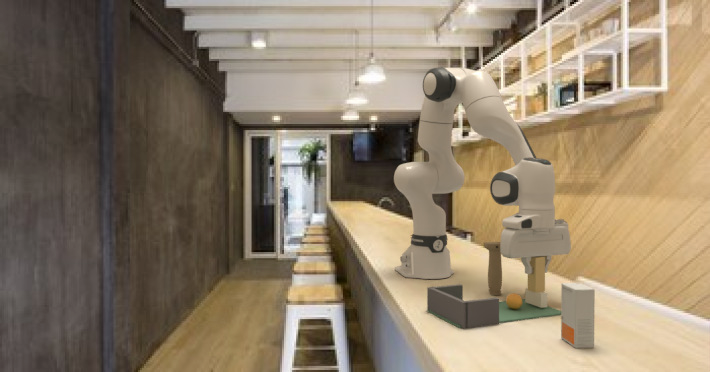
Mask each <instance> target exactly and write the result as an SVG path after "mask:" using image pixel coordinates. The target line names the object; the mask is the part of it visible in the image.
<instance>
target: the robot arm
mask: <svg viewBox="0 0 710 372" xmlns="http://www.w3.org/2000/svg"><path fill="white" fill-rule="evenodd" d="M422 90H423V94H424V97H423V101H422V104H421V105H422V106H421V109H420V115H419V124H418V133H417V143H418V145H419V146H420V148H422V150H424V151H426V152H427V154H428V158H429V159H428V161H411V162H406V163H405V162H404V163H402V164H399V165H398V166H397V167H396V169H395V171H394V175H393V183H394V185H395V188H396V189H397V190H398V191H399V193H401V194H402V195H403V196H404V197H405V198H406V200H407V201H408V202H409V205H410V209H411V212H412V224H413V225H412V227H413V228H412V229H413V231H412V232H413V233H412V234H410V236H411V237H410V245H409V246H408V247H407V249H405V251H404V252H403V253H402V254H401V256H400V258H399V259H400V263H401V265H398V266H397V265H396V266H394V270H395V271H396V272H397V273H398V274H400V275H402V276H403V277H404V278H415V279H422V280H423V279H424V280H425V279H426V280H429V279H430V280H439V279H446V278H449V277H451V276H452V275H453V274H454V273H455V272H454V270H453V269H452V266H451V265H452V264H451V263H452V261H451V253H450V252H451V251H450V249H449V248H448V247H447V245H448V235H447V224H446V223H447V217H446V216H447V213H446V211H445V209H443V208H442V206H440V205H438V204H436V203H435V201H434V198H433V195H434V194H435V195H436V194H437V195H438V194H439V195H440V194H441V195H442V194H451V193H454V192H457V191H460V190H461V188H462V187H463V185H464V183H465V177H466V176H465V172H464V169H463V168H462V167H461V165H459V164H458V162H457V161H456V159H455V157H454V154H453V149H452V134H453V126H454V124H453V123H454V116H455V115H454V114H455V109H456V108H457V106H458V105H461V104H462V105H463V109H464V112H465V116H466V119H467V121H468V124H469V126H470V127H471V129H472V131H473V132H475V134H478V135H479V136H481V137H483V138H486V139H489V140H492V141H494V142H496V143H497V144H499V145H501V146H502V147H504V148H505V149H506V150H507V151H508V153H509V154H510V157H511V159H512V161H513V163H514V166H512V167H510V168H509V169H505V170H503V171H499V172H496V173H495V174H494V176H493V177H492V179H491V181H490V183H489V184H490V185H489V187H490V188H489V191H490V192H489V193H490V194H491V198H492V200H493V201H494V202H496V203H497V204H498V205H501V206H505V207H508V206H509V207H510V206H511V207H512V206H516V207H517V206H518V212H516V213H514V214H512V215H510V216H507V217H505V218H503V219H502V221H501V222H502V223H501V225H502V227H503V230H502V231H501V234H500V242H501V243H500V251H501V256H502V257H503V258H506V259H519V258H520V261H521V263H522V265H523V267H524V273H525V274H526V275H528V274H534V267H531V265H530V263H529V261H531V257H536V256H543V257H545V274H547V273H548V269H549V268H548V267H549V265H550V263H551V261H552V256H559V255H560V256H561V255H562V256H563V255H569V253H570V252H571V251H572V247H571V245H572V244H571V235H570V231H569V223H568V222H567V221H566V220H565V219H563V218H559V219H557V218H556V207H555V204H554V196H555V194H556V178H555V177H556V176H555V169H554V166H553V163H552V162H551V161H550V160H548V159H545V158H540V157H539V158H537V156H536V153H535V152H534V150H533V149H532V148H533V147H532V146H531V144H530V142H529V141H528V139H527V137H526V135H525V132H524V131H523V129H522V128H521V127H520V125H519V124H518V122H516V121H515V119H514V118H513V117H512V116H511V114H510V112H509V110H508V108H507V107H506V104H505V102H504V100H503V97H502V95H501V92H500V90H499V88H498V85H497V84H496V82H495V81H494V79H493V76H491V74H490V73H489V72H487V71H485V70H477V69H471V68H465V67H460V66H459V67H443V66H439V67H438V66H437V67H433V68H430V69H429V70H428V71H427V72H426V73H425V75H424V77H423V81H422Z"/></svg>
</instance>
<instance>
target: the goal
mask: <svg viewBox="0 0 710 372" xmlns="http://www.w3.org/2000/svg"><path fill="white" fill-rule="evenodd" d="M463 288H464V286H463V284H460V283H459V284H458V283H457V284H449V285H438V286H430V287H429V286H428V287H427V288H426V290H427V293H426V296H427V299H426V300H427V301H426V303H427V304H426V305H427V307H426V308H427V309H426V310H430V311H432V312H434V313H436V314H438V315H440V316H442V317H444V318H446V319H448V320H450V321H452V322H454V323H456V324H458V325H460V326H461V328H460V329H461V330H465V329H467V330H468V329H472V328H480V327H481V328H482V327H488V326H497V325H500V323H499V302H500V298H498V297H487V298H479V299H471V300H464V296H463V295H464V293H463V291H464V289H463Z"/></svg>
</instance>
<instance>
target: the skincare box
mask: <svg viewBox="0 0 710 372" xmlns="http://www.w3.org/2000/svg"><path fill="white" fill-rule="evenodd" d="M560 292H561V296H560V297H561V299H560V300H561V301H560V302H561V306H560V307H561V308H560V309H561V315H560V317H561V318H560V319H561V321H560V325H561V326H560V339H562V340H563V341H565V343H568V344H569V345H570V346H572V347H573V348H574V349H585V348H586V349H591V348H595V293H596V291H595V289H594V288H592V287H590V286H588V285H586V284H583V283H580V282H563V283H561V291H560Z"/></svg>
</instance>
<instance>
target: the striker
mask: <svg viewBox="0 0 710 372" xmlns="http://www.w3.org/2000/svg"><path fill="white" fill-rule="evenodd" d="M529 263H530V265H531V267H534V274H527V288H525V290H524V291H525V293H524V297H525V298H524V299H525V302H526V303H529V304H532V305H535V306H538V307H541V308H543V307H547V306H548V292H546V273H545V257H543V256H536V257H531V261H529Z"/></svg>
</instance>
